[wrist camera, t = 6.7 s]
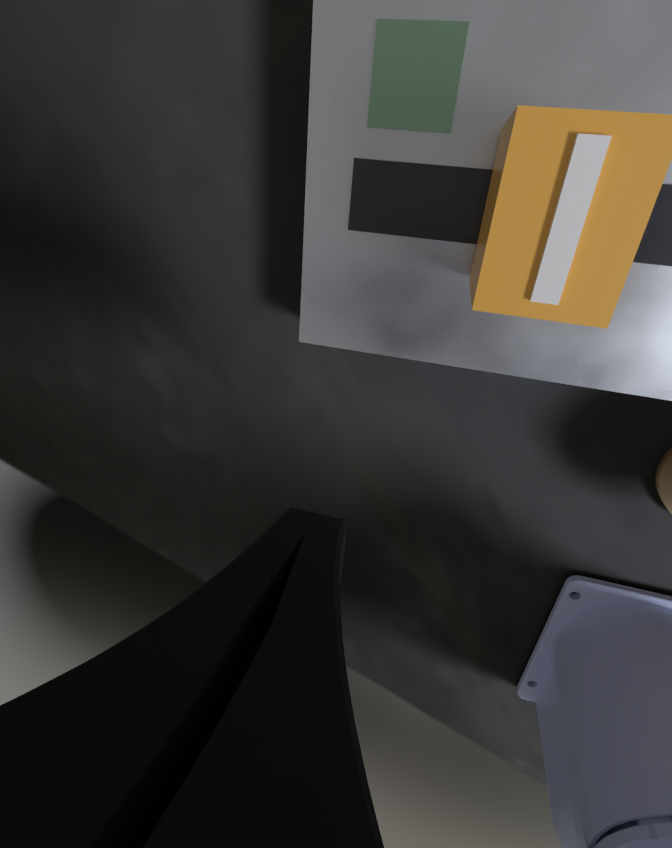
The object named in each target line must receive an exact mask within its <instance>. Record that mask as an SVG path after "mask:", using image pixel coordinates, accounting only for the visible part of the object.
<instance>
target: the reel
mask: <svg viewBox="0 0 672 848" xmlns="http://www.w3.org/2000/svg"><path fill="white" fill-rule="evenodd" d="M655 484H656V489H657V492H658V495H659V497H660V499H661V500H662V502H663V503H664V505H665V507H666V508H667V509H668V511H669V512H670V513H671V514H672V446H671V447H670V448H669V449H668V450H667V451H666V453H665V454H664V455H663V457H662V459H661V460H660V462H659V465H658V467H657V471H656V475H655Z"/></svg>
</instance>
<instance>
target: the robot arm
mask: <svg viewBox="0 0 672 848" xmlns="http://www.w3.org/2000/svg"><path fill="white" fill-rule="evenodd" d="M347 526H348V525H347V524H346V522H345V521H344V520H343V519H338V518H334V517H329V516H325V515H321V514H316V513H312V512H307V511H303V510H298V509H294V508H291V509H289V510H287V511H286V512H285V513H284V514H283V515H282V516H281V517H280V518H279V519H278V520H277V521H276V522H275V523H274V524H273V525H272V526H271V527H270V528H269V529H268V530H267V531H266V532H265V533H264V534H263V535H262V536H260V537H259V538H258V539H257V540H256V541H255V542H254V543H253V544H252V545H251V546H250V547H248V548H247V549H246V550H245V551H244V552H243V553H241V554H240V555H239V556H238V557H237V558H236V559H235V560H233V561H232V562H231V563H230V564H229V565H228V566H226V567H225V568H224V569H223V570H222V571H220V572H219V573H218V574H217V575H215V576H214V577H213V578H211V579H210V580H209V581H208V582H206V583H205V584H204V585H203V586H201V587H200V588H199V589H197V590H196V591H195V592H194V593H192V594H191V595H190V596H188V597H187V598H186V599H184V600H183V601H181V602H180V603H179V604H177V605H176V606H175V607H173V608H172V609H170V610H169V611H167V612H166V613H164V614H163V615H162V616H160V617H158V618H157V619H155V620H154V621H152V622H151V623H149V624H148V625H146V626H145V627H143V628H142V629H140V630H139V631H137V632H135V633H134V634H132V635H130V636H129V637H127V638H126V639H124V640H122V641H121V642H119V643H117V644H116V645H114V646H112V647H111V648H109V649H107V650H106V651H104V652H102V653H101V654H99V655H97V656H95V657H94V658H92V659H90V660H88V661H86V662H85V663H83V664H81V665H79V666H77V667H75V668H74V669H71V670H70V671H68V672H66V673H64V674H62V675H60V676H58V677H56V678H54V679H52V680H50V681H48V682H47V683H44V684H43V685H41V686H39V687H37V688H35V689H33V690H31V691H29V692H27V693H25V694H23V695H21V696H19V697H17V698H15V699H13V700H11V701H9V702H7V703H5V704H3V705H1V706H0V848H384V846H383V842H382V838H381V835H380V831H379V827H378V823H377V819H376V815H375V810H374V806H373V802H372V799H371V795H370V790H369V786H368V782H367V777H366V773H365V768H364V763H363V759H362V754H361V749H360V744H359V740H358V735H357V730H356V725H355V720H354V715H353V709H352V703H351V697H350V692H349V686H348V678H347V671H346V664H345V656H344V647H343V637H342V626H341V612H340V583H341V576H342V567H343V559H344V551H345V542H346V534H347ZM572 592H577V593H575V594H571V593H572ZM517 694H518V696H520V697H521V698H522V699H525V700H529V701H532V702H536V709H537V716H538V723H539V730H540V737H541V744H542V751H543V758H544V765H545V772H546V779H547V786H548V793H549V800H550V807H551V814H552V819H553V823H554V827H555V831H556V834H557V836H558V839H559V841H560V843H561V846H562V848H672V596H668V595H664V594H660V593H655V592H651V591H646V590H642V589H637V588H633V587H629V586H624V585H620V584H615V583H611V582H606V581H602V580H598V579H593V578H589V577H584V576H579V575H574V576H570V577H569V578H567V579H566V581H565V583H564V585H563V587H562V589H561V592H560V594H559V596H558V598H557V600H556V603H555V605H554V607H553V609H552V611H551V613H550V616H549V618H548V620H547V622H546V624H545V627H544V629H543V631H542V633H541V635H540V637H539V640H538V642H537V644H536V646H535V648H534V650H533V653H532V655H531V657H530V659H529V661H528V664H527V666H526V668H525V670H524V672H523V674H522V677H521V679H520V681H519V683H518V685H517Z"/></svg>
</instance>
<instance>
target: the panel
mask: <svg viewBox="0 0 672 848" xmlns="http://www.w3.org/2000/svg"><path fill="white" fill-rule="evenodd" d="M518 105H523V106H539V107H556V108H572V109H589V110H605V111H622V112H638V113H655V114H671V115H672V0H313V17H312V42H311V66H310V90H309V114H308V139H307V163H306V187H305V211H304V236H303V260H302V284H301V308H300V332H299V342H304V343H310V344H317V345H323V346H329V347H336V348H342V349H348V350H354V351H361V352H367V353H373V354H380V355H386V356H392V357H398V358H405V359H411V360H417V361H424V362H430V363H436V364H443V365H449V366H455V367H461V368H468V369H474V370H480V371H487V372H493V373H499V374H505V375H512V376H518V377H524V378H531V379H537V380H543V381H550V382H556V383H562V384H568V385H575V386H581V387H587V388H594V389H600V390H606V391H613V392H619V393H625V394H631V395H638V396H644V397H650V398H657V399H663V400H669V401H672V160H671V162H670V165H669V168H668V170H667V173H666V176H665V178H664V181H663V184H662V186H661V189H660V191H659V194H658V197H657V199H656V202H655V205H654V207H653V210H652V213H651V215H650V218H649V221H648V223H647V226H646V228H645V231H644V234H643V236H642V239H641V242H640V244H639V247H638V250H637V252H636V255H635V258H634V260H633V263H632V265H631V268H630V271H629V273H628V276H627V279H626V281H625V284H624V287H623V289H622V292H621V295H620V297H619V300H618V302H617V305H616V308H615V310H614V313H613V316H612V318H611V321H610V324H609V326H608V329H606V328H599V327H592V326H584V325H577V324H570V323H562V322H555V321H548V320H540V319H533V318H526V317H519V316H511V315H504V314H497V313H489V312H482V311H475V310H472V307H471V294H470V282H469V278H470V274H471V269H472V264H473V260H474V255H475V251H476V246H477V241H478V237H479V232H480V227H481V223H482V218H483V213H484V209H485V204H486V199H487V195H488V190H489V186H490V181H491V176H492V172H493V167H494V162H495V158H496V153H497V148H498V144H499V139H500V134H501V130H502V126H503V125H504V124H505V122H506V121H507V120H508V118H509V117H510V115H511V114H512V113H513V111H514V110H515V109H516V107H517V106H518Z"/></svg>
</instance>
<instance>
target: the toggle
mask: <svg viewBox="0 0 672 848" xmlns="http://www.w3.org/2000/svg"><path fill="white" fill-rule="evenodd" d="M671 160H672V115H671V114H655V113H638V112H622V111H605V110H589V109H572V108H556V107H539V106H523V105H518V106H517V107H516V109H515V110H514V111H513V113H512V114H511V115H510V117H509V118H508V120H507V121H506V122H505V124H504V125H503V126H502V130H501V134H500V139H499V144H498V148H497V153H496V158H495V162H494V167H493V172H492V176H491V181H490V186H489V190H488V195H487V199H486V204H485V209H484V213H483V218H482V223H481V227H480V232H479V237H478V241H477V246H476V251H475V255H474V260H473V264H472V269H471V274H470V278H469V282H470V294H471V307H472V310H475V311H482V312H489V313H497V314H504V315H511V316H519V317H526V318H533V319H540V320H548V321H555V322H562V323H570V324H577V325H584V326H592V327H599V328H606V329H608V326H609V324H610V321H611V318H612V316H613V313H614V310H615V308H616V305H617V302H618V300H619V297H620V295H621V292H622V289H623V287H624V284H625V281H626V279H627V276H628V273H629V271H630V268H631V265H632V263H633V260H634V258H635V255H636V252H637V250H638V247H639V244H640V242H641V239H642V236H643V234H644V231H645V228H646V226H647V223H648V221H649V218H650V215H651V213H652V210H653V207H654V205H655V202H656V199H657V197H658V194H659V191H660V189H661V186H662V184H663V181H664V178H665V176H666V173H667V170H668V168H669V165H670V162H671Z"/></svg>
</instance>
